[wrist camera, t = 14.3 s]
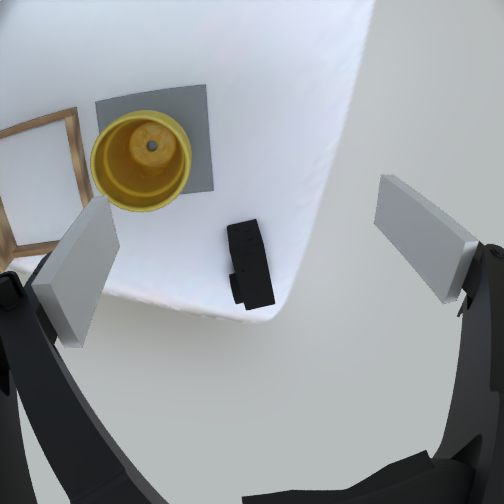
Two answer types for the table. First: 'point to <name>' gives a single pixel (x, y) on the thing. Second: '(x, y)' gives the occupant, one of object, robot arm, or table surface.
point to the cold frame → (3, 243)
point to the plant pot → (141, 161)
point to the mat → (183, 112)
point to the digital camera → (249, 266)
